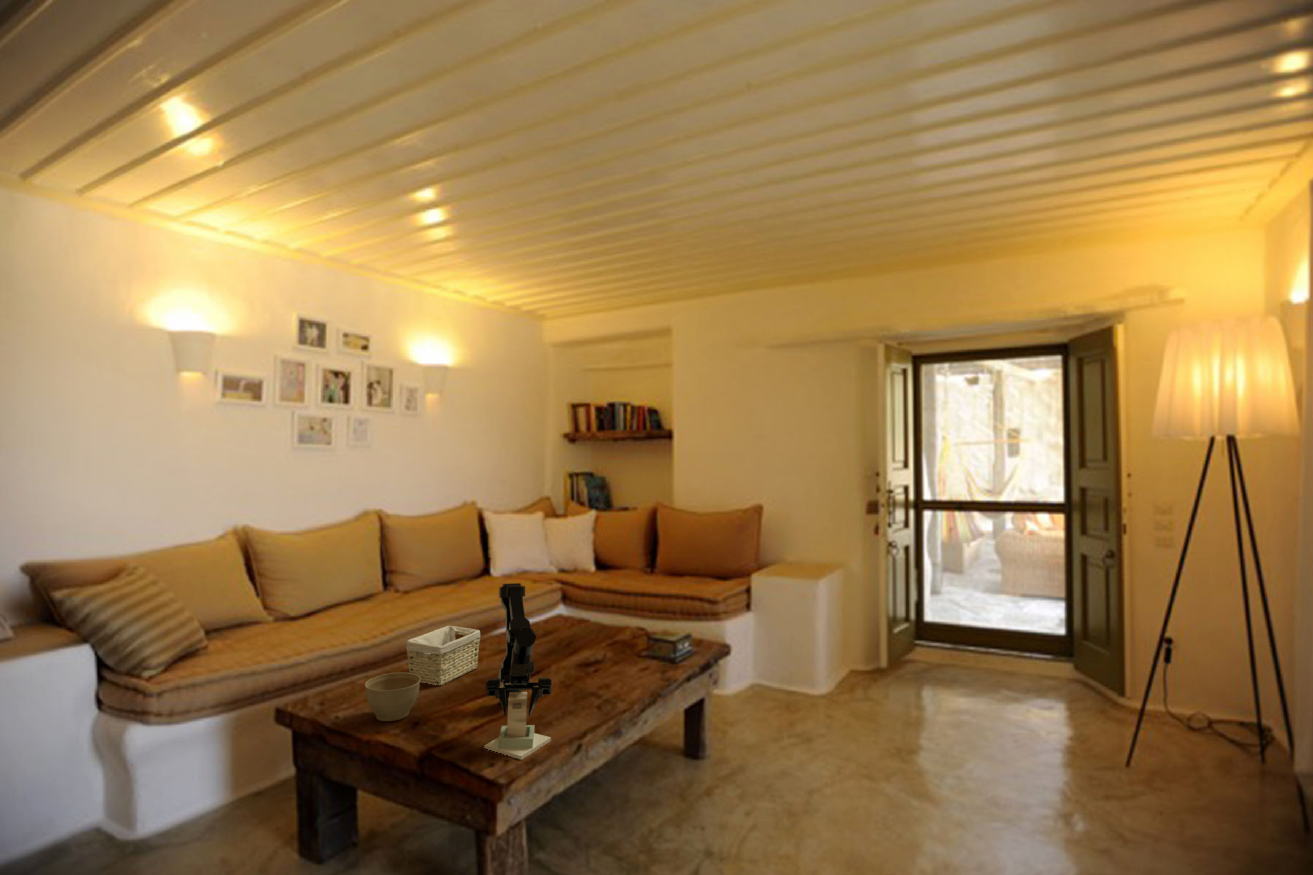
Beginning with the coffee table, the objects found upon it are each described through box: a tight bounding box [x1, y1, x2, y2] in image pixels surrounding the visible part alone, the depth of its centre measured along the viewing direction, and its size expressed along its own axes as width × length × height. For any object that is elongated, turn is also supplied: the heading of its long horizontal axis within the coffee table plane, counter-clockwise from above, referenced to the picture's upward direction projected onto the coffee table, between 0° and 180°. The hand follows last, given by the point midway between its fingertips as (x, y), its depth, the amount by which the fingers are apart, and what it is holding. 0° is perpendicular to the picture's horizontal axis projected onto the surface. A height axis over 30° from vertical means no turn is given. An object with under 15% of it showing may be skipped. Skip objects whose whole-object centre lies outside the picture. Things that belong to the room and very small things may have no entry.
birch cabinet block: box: [506, 691, 528, 738], centre depth 193 cm, size 6×5×13 cm
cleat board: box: [483, 724, 552, 761], centre depth 193 cm, size 14×14×4 cm
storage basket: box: [405, 625, 481, 687], centre depth 249 cm, size 24×16×15 cm
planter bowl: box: [364, 672, 421, 722], centre depth 211 cm, size 16×16×11 cm
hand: (517, 715), depth 192 cm, fingers open, 6 cm apart
